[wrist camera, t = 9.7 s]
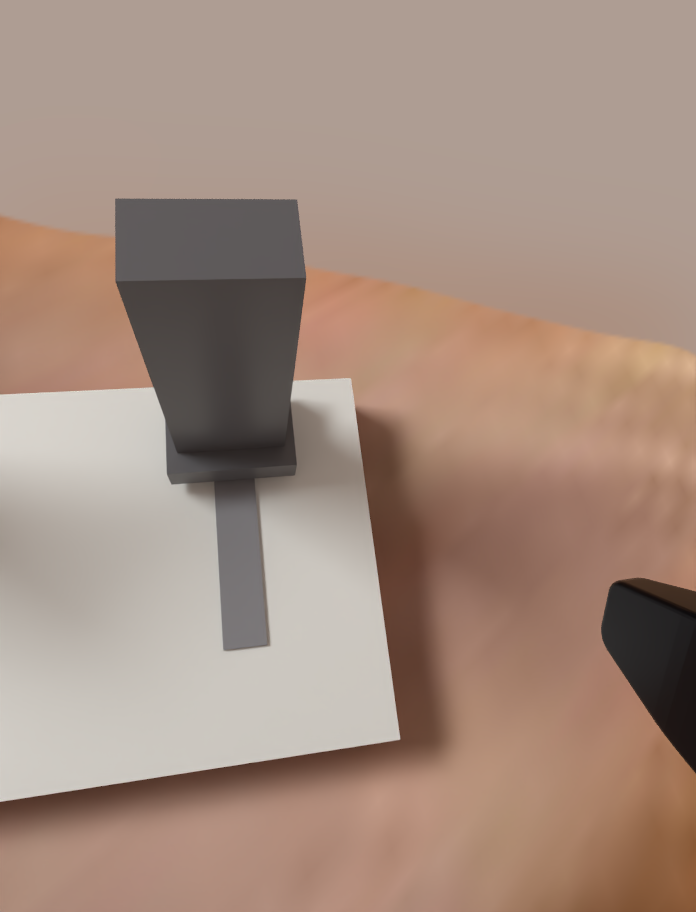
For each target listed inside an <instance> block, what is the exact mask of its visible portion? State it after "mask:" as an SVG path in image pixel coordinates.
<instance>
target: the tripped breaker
mask: <svg viewBox="0 0 696 912" xmlns="http://www.w3.org/2000/svg"><path fill="white" fill-rule="evenodd" d="M115 205H116V207H115V211H116V213H115V215H116V216H115V220H116V221H115V222H116V223H115V227H116V228H115V229H116V284H117V287H118V289H119V292H120V295H121V298H122V301H123V303H124V306H125V309H126V312H127V315H128V317H129V320H130V323H131V326H132V328H133V331H134V334H135V337H136V340H137V342H138V345H139V348H140V351H141V353H142V356H143V359H144V362H145V365H146V367H147V370H148V373H149V376H150V379H151V381H152V384H153V387H154V390H155V392H156V395H157V398H158V401H159V404H160V406H161V409H162V412H163V415H164V417H165V430H166V465H167V476H168V478H169V480H170V482H171V485H173V484H187V483H200V482H213V481H227V480H240V479H254V478H267V477H281V476H294V475H295V472H296V467H297V460H296V450H295V440H294V430H293V420H292V410H291V401H290V400H291V392H292V385H293V377H294V369H295V361H296V353H297V346H298V338H299V330H300V322H301V314H302V307H303V299H304V291H305V283H306V272H305V264H304V256H303V247H302V239H301V230H300V221H299V213H298V204H297V200H271V199H270V200H267V199H264V200H263V199H253V200H252V199H115Z"/></svg>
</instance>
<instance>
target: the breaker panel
mask: <svg viewBox="0 0 696 912" xmlns="http://www.w3.org/2000/svg"><path fill="white" fill-rule="evenodd" d="M290 401H291V410H292V420H293V430H294V440H295V450H296V460H297V467H296V472H295V475H294V476H281V477H267V478H254V479H240V480H227V481H213V482H200V483H187V484H173V485H171V482H170V480H169V478H168V476H167V465H166V430H165V417H164V415H163V412H162V409H161V406H160V404H159V401H158V398H157V395H156V392H155V390H154V387H153V388H132V389H111V390H90V391H68V392H47V393H26V394H5V395H0V802H2V801H9V800H15V799H22V798H28V797H34V796H41V795H47V794H54V793H60V792H67V791H73V790H80V789H86V788H92V787H99V786H105V785H112V784H118V783H125V782H131V781H138V780H144V779H150V778H157V777H163V776H170V775H176V774H183V773H189V772H196V771H202V770H208V769H215V768H221V767H228V766H234V765H241V764H247V763H253V762H260V761H266V760H273V759H279V758H286V757H292V756H299V755H305V754H311V753H318V752H324V751H331V750H337V749H344V748H350V747H357V746H363V745H369V744H376V743H382V742H389V741H395V740H400V733H399V726H398V719H397V711H396V704H395V697H394V690H393V682H392V675H391V668H390V660H389V653H388V646H387V638H386V631H385V624H384V616H383V609H382V602H381V595H380V587H379V580H378V573H377V565H376V558H375V551H374V543H373V536H372V529H371V521H370V514H369V507H368V500H367V492H366V485H365V478H364V470H363V463H362V456H361V448H360V441H359V434H358V426H357V419H356V412H355V405H354V397H353V390H352V383H351V378H344V379H323V380H302V381H293V385H292V392H291V400H290Z"/></svg>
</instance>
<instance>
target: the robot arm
mask: <svg viewBox="0 0 696 912" xmlns="http://www.w3.org/2000/svg"><path fill="white" fill-rule="evenodd" d="M601 633H602V639H603V642H604V644H605V647H606V648H607V650H608V652H609V653H610V655H611V656H612V658H613V659H614V661H615V662H616V664H617V665H618V667H619V668H620V670H621V671H622V673H623V674H624V676H625V677H626V679H627V680H628V682H629V683H630V685H631V686H632V688H633V689H634V691H635V692H636V694H637V695H638V697H639V698H640V700H641V701H642V703H643V704H644V706H645V707H646V709H647V710H648V712H649V713H650V715H651V716H652V718H653V719H654V721H655V722H656V723H657V725H658V726H659V728H660V729H661V730H662V732H663V733H664V735H665V736H666V737H667V738H668V740H669V741H670V742H671V744H672V745H673V746H674V747H675V749H676V750H677V751H678V752H679V754H680V755H681V756H682V757H683V759H684V760H685V761H686V762H687V763H688V765H689V766H690V767H691V768H692V770H693V771H694V772H695V773H696V591H692V590H688V589H684V588H680V587H676V586H672V585H668V584H664V583H660V582H656V581H653V580H649V579H645V578H632V579H625V580H619V581H616V582H614V583H613V584H612V585H611V587H610V589H609V593H608V597H607V602H606V607H605V611H604V616H603V621H602V626H601Z"/></svg>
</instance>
